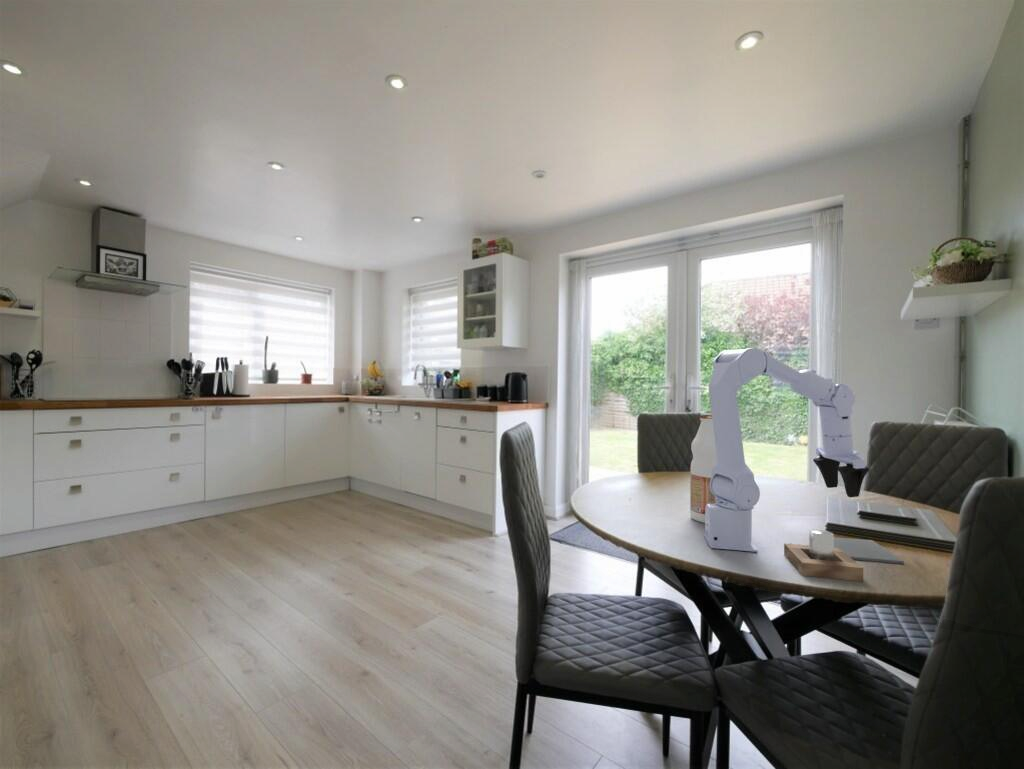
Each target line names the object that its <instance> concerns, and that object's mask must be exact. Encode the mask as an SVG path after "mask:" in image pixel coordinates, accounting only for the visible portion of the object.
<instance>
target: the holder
mask: <svg viewBox="0 0 1024 769" xmlns="http://www.w3.org/2000/svg"><path fill="white" fill-rule="evenodd" d="M783 549H784V550H783V553H784V554H783V556H784V557H785V558H786V559H787V560H788V561H789V562H790V564H792V566H793V567H794V568H795V569H796V570H797V572H798V573H799V574H800V573H801V574H802V575H805V576H804V577H813V578H824V579H833V580H834V579H835V580H844V581H845V580H846V581H857V582H864V567H863V566H862V565H861V564H859V563H858V562H857V561H856V560H854V559H852V558H850V557H849V556H848V555H847V554H845V553H844V552H843V551H842V550H840V549H839V548H834V557H833V561H827V560H815V559H810V558H809V544H808V545H806V544H795V543H784V544H783ZM801 574H800V575H801ZM802 575H801V576H802Z"/></svg>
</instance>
